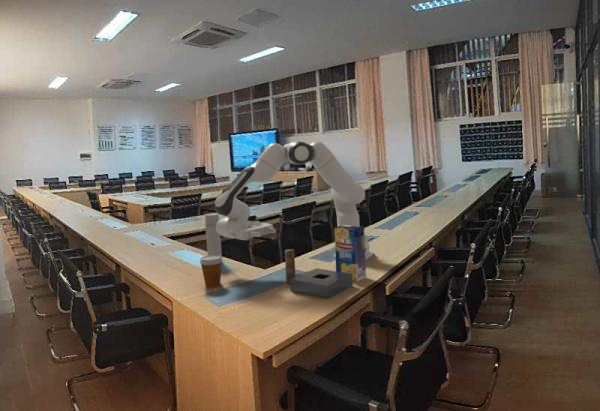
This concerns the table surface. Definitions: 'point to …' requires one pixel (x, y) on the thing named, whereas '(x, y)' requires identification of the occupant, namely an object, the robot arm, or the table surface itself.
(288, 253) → the walnut pin
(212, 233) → the water bottle
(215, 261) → the disposable coffee cup
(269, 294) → the table surface
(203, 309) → the table surface
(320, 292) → the socket block
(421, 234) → the table surface
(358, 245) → the beverage box
